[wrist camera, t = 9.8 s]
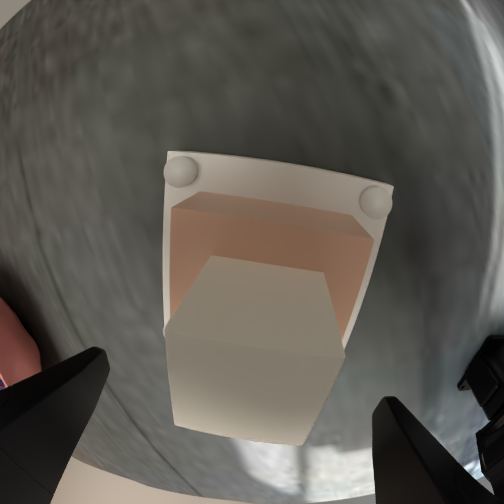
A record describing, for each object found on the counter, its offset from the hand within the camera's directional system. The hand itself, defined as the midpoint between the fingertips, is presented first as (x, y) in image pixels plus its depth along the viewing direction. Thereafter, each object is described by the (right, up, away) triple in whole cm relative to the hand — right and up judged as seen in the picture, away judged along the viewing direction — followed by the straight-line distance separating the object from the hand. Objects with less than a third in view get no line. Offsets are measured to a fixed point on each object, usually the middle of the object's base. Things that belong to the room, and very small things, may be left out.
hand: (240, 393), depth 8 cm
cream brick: (+1, +2, +4) cm, 5 cm away
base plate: (+1, +4, +9) cm, 10 cm away
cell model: (-28, -6, +17) cm, 33 cm away
